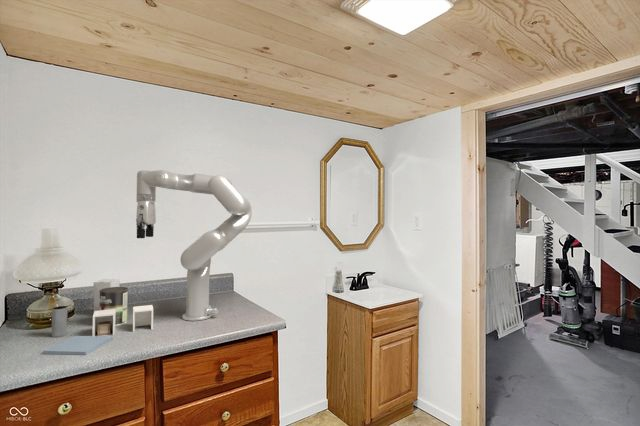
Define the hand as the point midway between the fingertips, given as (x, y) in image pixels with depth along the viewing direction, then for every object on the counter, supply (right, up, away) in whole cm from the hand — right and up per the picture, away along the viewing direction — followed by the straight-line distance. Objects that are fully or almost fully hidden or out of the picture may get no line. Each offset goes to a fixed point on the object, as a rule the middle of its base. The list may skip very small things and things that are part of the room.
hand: (145, 237), depth 152 cm
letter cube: (-5, -35, -21) cm, 41 cm away
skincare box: (-18, -35, +2) cm, 40 cm away
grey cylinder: (-20, -35, -24) cm, 47 cm away
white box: (-5, -35, -21) cm, 41 cm away
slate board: (-5, -35, -34) cm, 49 cm away
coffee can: (-8, -35, -9) cm, 37 cm away
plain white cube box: (+6, -35, -15) cm, 39 cm away
